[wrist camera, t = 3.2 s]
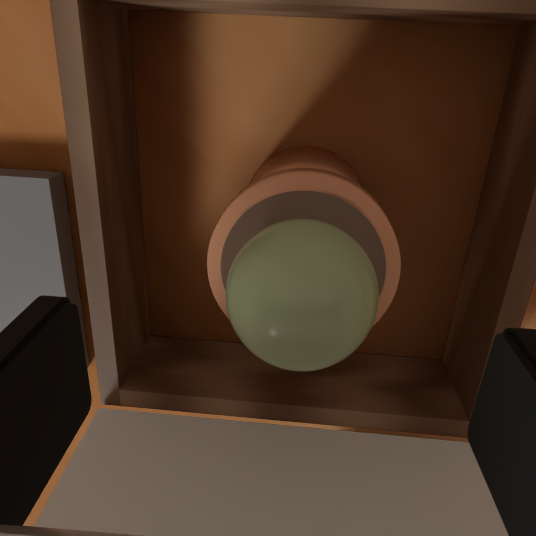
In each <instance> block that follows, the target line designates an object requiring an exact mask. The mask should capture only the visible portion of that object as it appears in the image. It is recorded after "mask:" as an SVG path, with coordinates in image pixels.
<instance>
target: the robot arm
mask: <svg viewBox="0 0 536 536" xmlns="http://www.w3.org/2000/svg"><path fill="white" fill-rule="evenodd" d="M90 407H91V391H90V384H89V378H88V371H87V364H86V358H85V351H84V344H83V338H82V331H81V324H80V318H79V311H78V307H77V305H75V304H71V302H70V300H69V298H67V297H59V296H45V295H42V296H39V297H37V298H36V299H35V300H34V301H33V302H32V303H31V304H30V305H29V306H28V307H27V308H26V309H25V310H24V311H22V312H21V313H20V314H19V315H18V316H17V317H16V318H15V319H14V320H13V321H12V322H11V323H10V324H9V325H8V326H7V327H5V328H4V329H3V330H2V331H1V332H0V536H142V535H130V534H118V533H106V532H94V531H82V530H70V529H58V528H46V527H32V526H23V524H24V522H25V520H26V519H27V517H28V515H29V514H30V512H31V510H32V508H33V507H34V505H35V503H36V502H37V500H38V498H39V497H40V495H41V493H42V491H43V490H44V488H45V486H46V485H47V483H48V481H49V479H50V478H51V476H52V474H53V473H54V471H55V469H56V467H57V466H58V464H59V462H60V461H61V459H62V457H63V456H64V454H65V452H66V450H67V449H68V447H69V445H70V444H71V442H72V440H73V438H74V437H75V435H76V433H77V432H78V430H79V428H80V427H81V425H82V423H83V421H84V420H85V418H86V416H87V415H88V412H89V410H90ZM468 440H469V444H470V446H471V449H472V451H473V453H474V456H475V458H476V460H477V463H478V465H479V467H480V470H481V472H482V474H483V477H484V479H485V481H486V484H487V486H488V488H489V491H490V493H491V495H492V498H493V500H494V502H495V505H496V507H497V509H498V512H499V514H500V516H501V519H502V521H503V524H504V526H505V528H506V531H507V533H508V535H509V536H536V330H535V329H523V328H506V329H505V330H504V331H503V333H502V334H500V333H498V334H497V335H496V336H495V338H494V340H493V344H492V347H491V350H490V354H489V357H488V361H487V364H486V367H485V371H484V374H483V378H482V381H481V384H480V388H479V391H478V395H477V398H476V401H475V405H474V408H473V412H472V415H471V418H470V422H469V425H468Z"/></svg>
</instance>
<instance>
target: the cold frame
mask: <svg viewBox="0 0 536 536" xmlns="http://www.w3.org/2000/svg"><path fill="white" fill-rule="evenodd" d="M49 1H50V8H51V16H52V24H53V32H54V40H55V47H56V55H57V63H58V71H59V78H60V86H61V94H62V102H63V109H64V117H65V125H66V133H67V141H68V148H69V156H70V164H71V172H72V179H73V187H74V195H75V203H76V210H77V218H78V226H79V234H80V241H81V249H82V257H83V265H84V273H85V280H86V288H87V296H88V304H89V311H90V319H91V327H92V335H93V342H94V350H95V358H96V366H97V374H98V381H99V389H100V397H101V404H106V405H117V406H127V407H138V408H149V409H160V410H171V411H182V412H193V413H204V414H214V415H225V416H236V417H247V418H258V419H269V420H280V421H291V422H301V423H312V424H323V425H334V426H345V427H356V428H367V429H377V430H388V431H399V432H410V433H421V434H432V435H443V436H454V437H464V438H468V425H469V422H470V418H471V415H472V412H473V408H474V405H475V401H476V398H477V395H478V391H479V388H480V384H481V381H482V378H483V374H484V371H485V367H486V364H487V361H488V357H489V354H490V350H491V347H492V344H493V340H494V338H495V336H496V335H497V334H498V333H500V334H502V333H503V331H504V330H505V329H506V328H520V327H521V323H522V320H523V317H524V314H525V310H526V307H527V304H528V301H529V297H530V294H531V291H532V287H533V284H534V281H535V278H536V0H49ZM128 10H151V11H174V12H198V13H222V14H246V15H269V16H293V17H317V18H341V19H365V20H388V21H412V22H436V23H460V24H483V25H507V26H521V27H520V31H519V35H518V39H517V44H516V48H515V52H514V56H513V61H512V65H511V69H510V73H509V78H508V82H507V86H506V90H505V95H504V99H503V103H502V108H501V112H500V116H499V120H498V125H497V129H496V133H495V137H494V142H493V146H492V150H491V154H490V159H489V163H488V167H487V171H486V176H485V180H484V184H483V188H482V193H481V197H480V201H479V206H478V210H477V214H476V218H475V223H474V227H473V231H472V235H471V240H470V244H469V248H468V252H467V257H466V261H465V265H464V269H463V274H462V278H461V282H460V286H459V291H458V295H457V299H456V304H455V308H454V312H453V316H452V321H451V325H450V329H449V333H448V338H447V342H446V346H445V350H444V355H443V359H442V360H437V359H425V358H412V357H400V356H388V355H376V354H364V353H352V354H351V355H349V356H348V357H347V358H345V359H344V360H342V361H340V362H339V363H336V364H334V365H332V366H330V367H327V368H323V369H320V370H315V371H305V372H301V371H290V370H285V369H281V368H278V367H275V366H273V365H271V364H269V363H267V362H265V361H263V360H261V359H260V358H258V357H257V356H255V355H254V354H253V353H252V352H251V351H249V349H248V348H247V347H246V346H245V345H244V344H243V343H231V342H219V341H207V340H195V339H183V338H171V337H159V336H150V322H149V308H148V293H147V279H146V264H145V250H144V236H143V221H142V207H141V193H140V178H139V164H138V149H137V135H136V121H135V106H134V92H133V78H132V63H131V49H130V34H129V20H128Z"/></svg>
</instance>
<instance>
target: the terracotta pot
mask: <svg viewBox="0 0 536 536" xmlns="http://www.w3.org/2000/svg"><path fill="white" fill-rule="evenodd" d="M400 270H401V259H400V251H399V246H398V242H397V239H396V236H395V233H394V231H393V228H392V226H391V224H390V222H389V220H388V218H387V216H386V215H385V213H384V211H383V209H382V208H381V206H380V205H379V204H378V202H377V201H376V200H375V199H374V198H373V197H372V196H371V195H370V193H369V192H368V191H366V190H365V189H364V188H363V187H362V185H361V182H360V180H359V178H358V176H357V174H356V173H355V171H354V170H353V169H352V167H351V166H350V165H349V164H348V163H347V162H346V161H345V160H343V159H342V158H341V157H339V156H338V155H336V154H334V153H332V152H330V151H327V150H325V149H321V148H317V147H295V148H290V149H287V150H284V151H282V152H279V153H277V154H276V155H274V156H272V157H271V158H270V159H268V160H267V161H266V162H265V163H264V164H263V165H262V166H261V167H260V168H259V169H258V171H257V172H256V173H255V175H254V177H253V179H252V180H251V182H250V184H249V185H248V186H247V187H245V188H244V189H243V190H242V191H240V192H239V193H238V195H237V196H236V197H235V198H234V199H233V200H232V201H231V202H230V204H229V205H228V206H227V208H226V209H225V211H224V213H223V214H222V216H221V218H220V220H219V222H218V224H217V225H216V227H215V229H214V231H213V234H212V237H211V240H210V244H209V248H208V255H207V271H208V278H209V283H210V287H211V290H212V292H213V295H214V297H215V299H216V301H217V303H218V305H219V307H220V308H221V310H222V311H223V312H224V314H225V315H226V317H227V318H228V319H229V320H230V321H231V324H232V327H233V329H234V331H235V333H236V334H237V336H238V337H239V339H240V340H241V341H242V343H243V344H244V345H245V346H246V347H247V348H248V349H249V351H251V352H252V353H253V354H254V355H255V356H257V357H258V358H260V359H261V360H263V361H265V362H267V363H269V364H271V365H273V366H275V367H278V368H281V369H285V370H290V371H301V372H305V371H315V370H320V369H323V368H327V367H330V366H332V365H334V364H336V363H339V362H340V361H342V360H344V359H345V358H347V357H348V356H349V355H351V354H352V353H353V352H354V351H355V350H356V349H357V348H358V347H359V346H360V345H361V344H362V342H363V341H364V340H365V338H366V337H367V335H368V333H369V331H370V330H371V328H372V327H373V326H374V325H375V324H376V323H377V322H378V321H379V320H380V318H381V317H382V316H383V314H384V313H385V312H386V311H387V309H388V307H389V305H390V304H391V302H392V300H393V298H394V295H395V293H396V290H397V287H398V283H399V279H400Z"/></svg>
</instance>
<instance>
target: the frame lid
mask: <svg viewBox="0 0 536 536" xmlns="http://www.w3.org/2000/svg"><path fill="white" fill-rule="evenodd" d="M34 527H46V528H58V529H70V530H82V531H94V532H106V533H118V534H130V535H142V536H509V535H508V533H507V531H506V528H505V526H504V524H503V521H502V519H501V516H500V514H499V512H498V509H497V507H496V505H495V502H494V500H493V498H492V495H491V493H490V491H489V488H488V486H487V484H486V481H485V479H484V477H483V474H482V472H481V470H480V467H479V465H478V463H477V460H476V458H475V456H474V453H473V451H472V449H471V446H470V444H469V442H460V441H449V440H438V439H427V438H416V437H406V436H395V435H384V434H373V433H362V432H352V431H341V430H330V429H319V428H308V427H298V426H287V425H276V424H265V423H254V422H244V421H233V420H222V419H211V418H200V417H189V416H179V415H168V414H157V413H146V412H135V411H125V410H114V409H103V408H99V409H98V411H97V413H96V414H95V416H94V418H93V420H92V422H91V424H90V425H89V427H88V429H87V431H86V433H85V434H84V436H83V438H82V440H81V442H80V443H79V445H78V447H77V449H76V451H75V453H74V454H73V456H72V458H71V460H70V462H69V463H68V465H67V467H66V469H65V471H64V472H63V474H62V476H61V478H60V480H59V482H58V483H57V485H56V487H55V489H54V491H53V492H52V494H51V496H50V498H49V500H48V501H47V503H46V505H45V507H44V509H43V511H42V512H41V514H40V516H39V518H38V520H37V521H36V523H35V525H34Z"/></svg>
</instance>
